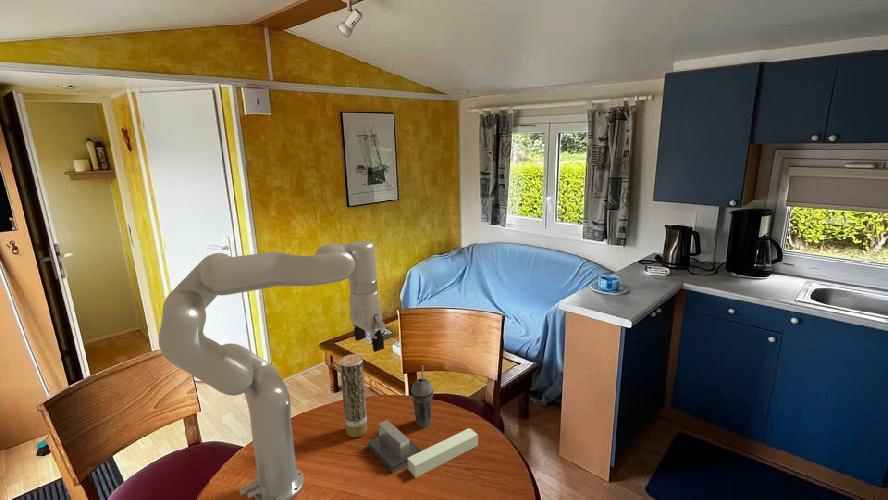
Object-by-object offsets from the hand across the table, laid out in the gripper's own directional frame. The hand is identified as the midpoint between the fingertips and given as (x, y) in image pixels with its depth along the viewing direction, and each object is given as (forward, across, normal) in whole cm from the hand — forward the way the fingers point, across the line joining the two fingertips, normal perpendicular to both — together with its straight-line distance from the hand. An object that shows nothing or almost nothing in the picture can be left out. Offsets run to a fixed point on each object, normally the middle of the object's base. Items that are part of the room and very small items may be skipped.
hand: (369, 344), depth 123 cm
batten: (+35, +16, +12) cm, 40 cm away
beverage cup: (+34, -1, +17) cm, 39 cm away
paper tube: (+34, -12, -1) cm, 36 cm away
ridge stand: (+34, +5, +2) cm, 34 cm away
